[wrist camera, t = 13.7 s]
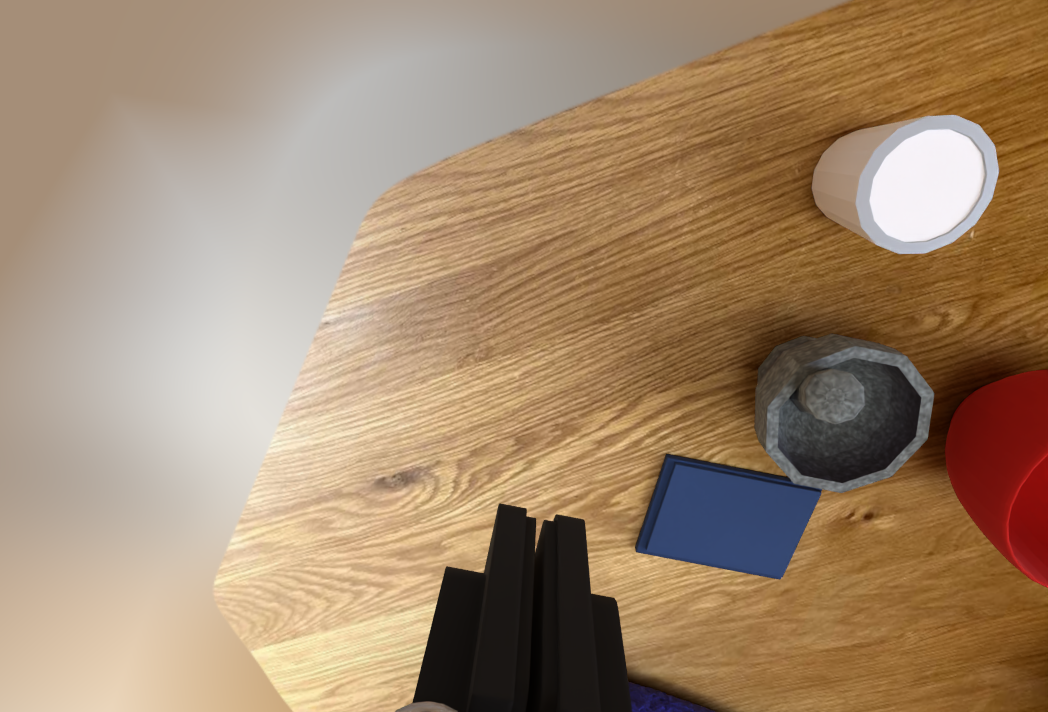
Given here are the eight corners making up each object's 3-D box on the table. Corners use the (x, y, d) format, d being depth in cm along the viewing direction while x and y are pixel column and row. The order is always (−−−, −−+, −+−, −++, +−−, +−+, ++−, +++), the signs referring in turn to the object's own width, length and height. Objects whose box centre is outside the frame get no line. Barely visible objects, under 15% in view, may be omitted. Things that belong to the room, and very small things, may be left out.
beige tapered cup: (781, 164, 35) (833, 171, 29) (889, 92, 34) (970, 82, 27) (830, 254, 37) (890, 280, 31) (934, 190, 35) (1020, 203, 29)
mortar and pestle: (898, 384, 40) (1031, 481, 29) (783, 460, 43) (865, 575, 32) (808, 267, 37) (917, 324, 26) (692, 356, 40) (746, 442, 29)
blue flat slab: (634, 547, 46) (636, 555, 45) (666, 453, 43) (668, 460, 42) (777, 574, 47) (782, 583, 46) (819, 483, 43) (825, 491, 42)
